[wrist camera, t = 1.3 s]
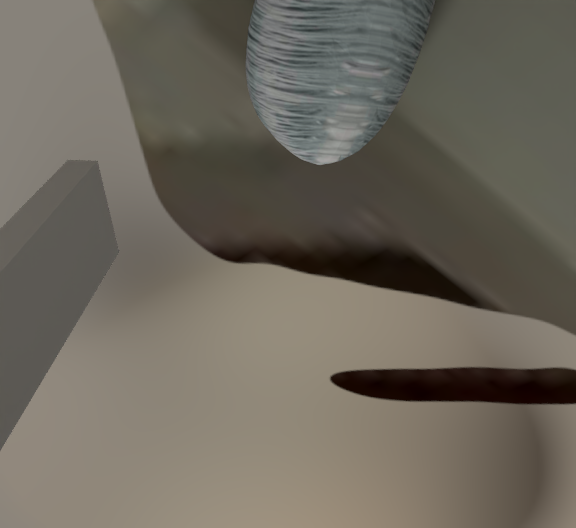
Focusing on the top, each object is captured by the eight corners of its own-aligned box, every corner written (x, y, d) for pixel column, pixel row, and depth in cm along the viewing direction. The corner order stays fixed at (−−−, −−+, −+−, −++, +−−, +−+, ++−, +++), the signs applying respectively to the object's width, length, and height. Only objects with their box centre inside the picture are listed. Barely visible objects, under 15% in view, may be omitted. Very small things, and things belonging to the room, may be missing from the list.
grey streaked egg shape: (266, -190, 24) (330, -83, 18) (438, -132, 27) (533, -30, 22) (207, 71, 34) (237, 187, 29) (338, 87, 38) (386, 192, 32)
